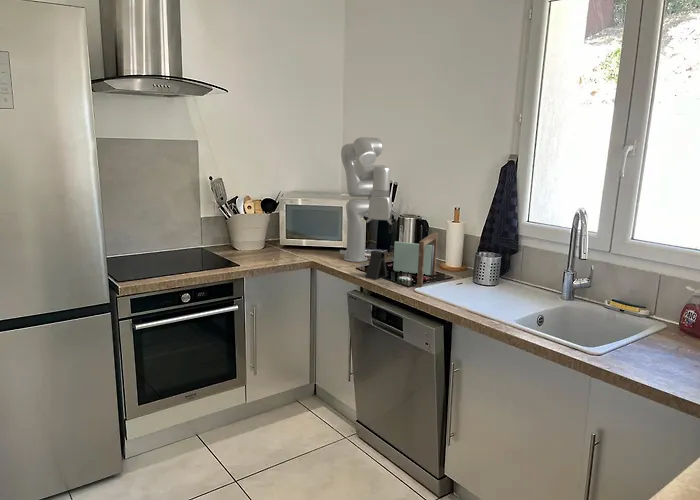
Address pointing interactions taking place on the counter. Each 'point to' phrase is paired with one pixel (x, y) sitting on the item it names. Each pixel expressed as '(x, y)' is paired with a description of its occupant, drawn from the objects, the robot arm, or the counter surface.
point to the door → (412, 258)
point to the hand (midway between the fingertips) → (379, 232)
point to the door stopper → (377, 266)
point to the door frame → (422, 243)
